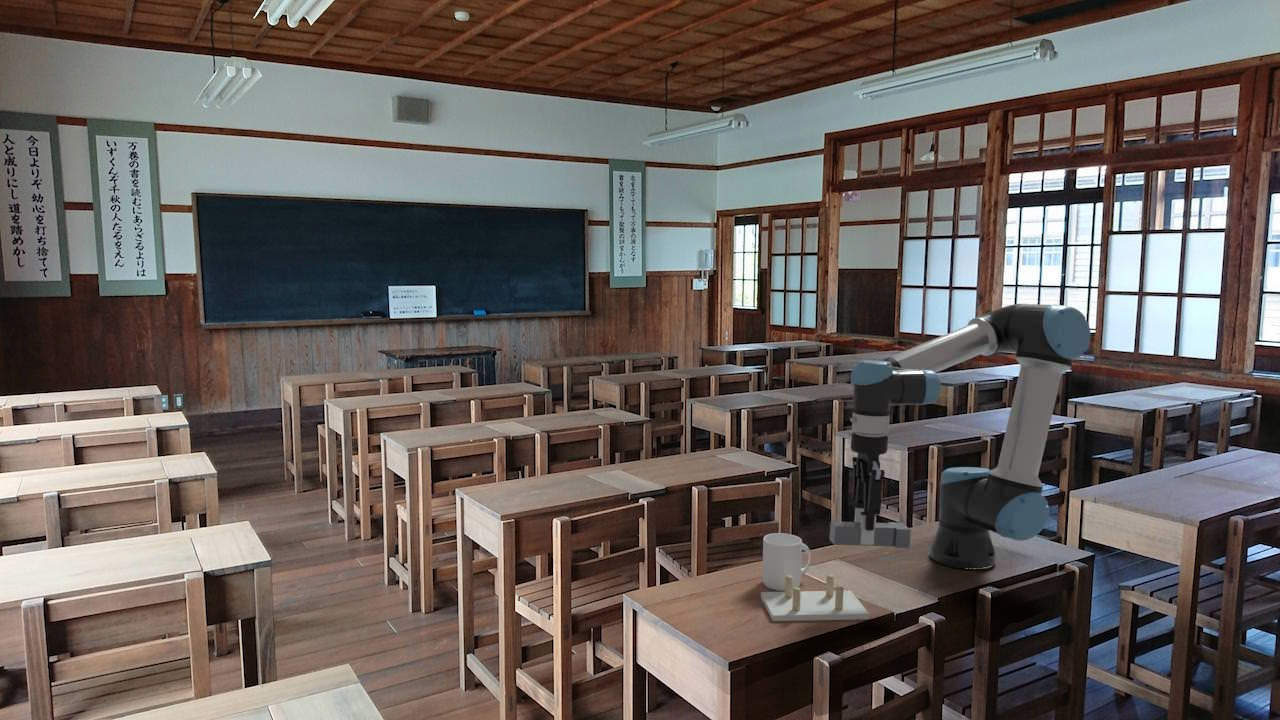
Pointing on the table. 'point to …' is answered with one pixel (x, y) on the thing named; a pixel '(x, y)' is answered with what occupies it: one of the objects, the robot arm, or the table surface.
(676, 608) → the table surface
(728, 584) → the table surface
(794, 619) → the rack
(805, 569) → the mug
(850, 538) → the grey bar
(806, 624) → the table surface
